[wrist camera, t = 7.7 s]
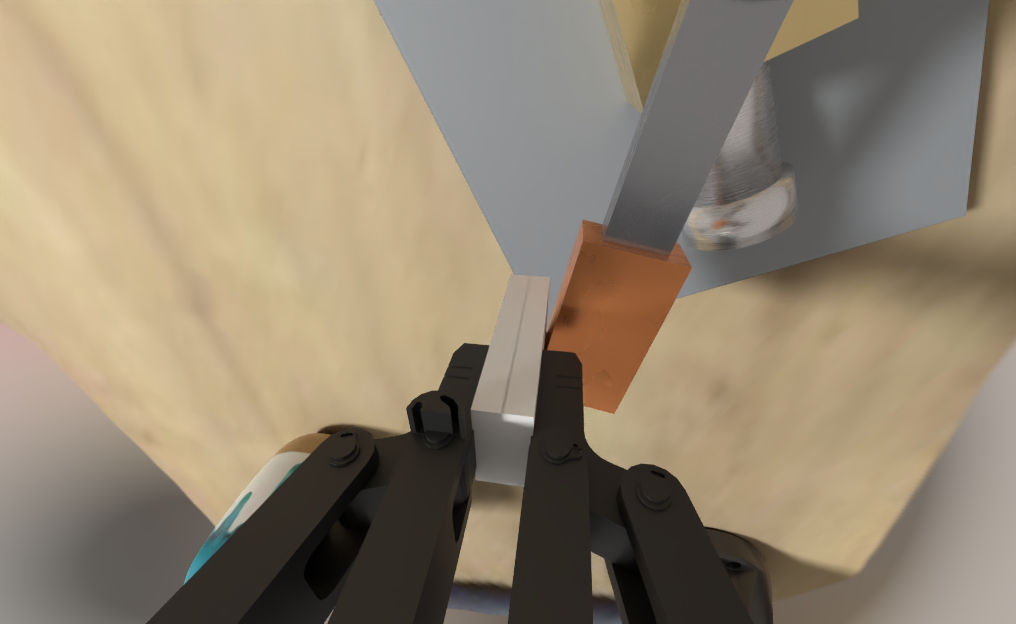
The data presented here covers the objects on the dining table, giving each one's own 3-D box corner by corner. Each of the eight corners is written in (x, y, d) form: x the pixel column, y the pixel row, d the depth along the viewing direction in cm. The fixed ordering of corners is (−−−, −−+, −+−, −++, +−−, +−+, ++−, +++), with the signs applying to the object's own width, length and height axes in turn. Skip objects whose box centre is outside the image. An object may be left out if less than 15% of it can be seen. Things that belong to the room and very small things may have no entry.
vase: (313, 399, 37) (120, 646, 22) (403, 453, 40) (288, 708, 24) (280, 444, 43) (105, 668, 27) (361, 489, 45) (245, 716, 30)
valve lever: (918, -221, 7) (1010, -297, 5) (615, 382, 16) (619, 415, 14) (724, -262, 7) (762, -348, 6) (532, 361, 16) (527, 391, 14)
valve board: (933, 202, 20) (965, 215, 18) (548, 320, 28) (546, 336, 26) (1003, -848, 9) (1105, -1067, 7) (316, -146, 16) (286, -169, 15)
